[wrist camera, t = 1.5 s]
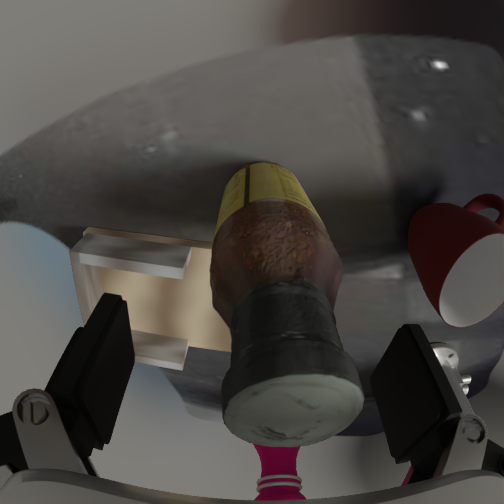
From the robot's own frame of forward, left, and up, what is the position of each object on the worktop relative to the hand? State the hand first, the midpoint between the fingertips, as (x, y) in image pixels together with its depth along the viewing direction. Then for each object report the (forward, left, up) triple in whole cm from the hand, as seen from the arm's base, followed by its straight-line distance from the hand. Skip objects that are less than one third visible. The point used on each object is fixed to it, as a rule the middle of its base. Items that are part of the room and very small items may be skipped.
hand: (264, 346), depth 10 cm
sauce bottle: (0, 0, -17) cm, 17 cm away
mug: (-16, -1, -17) cm, 24 cm away
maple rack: (+7, +11, -17) cm, 21 cm away
